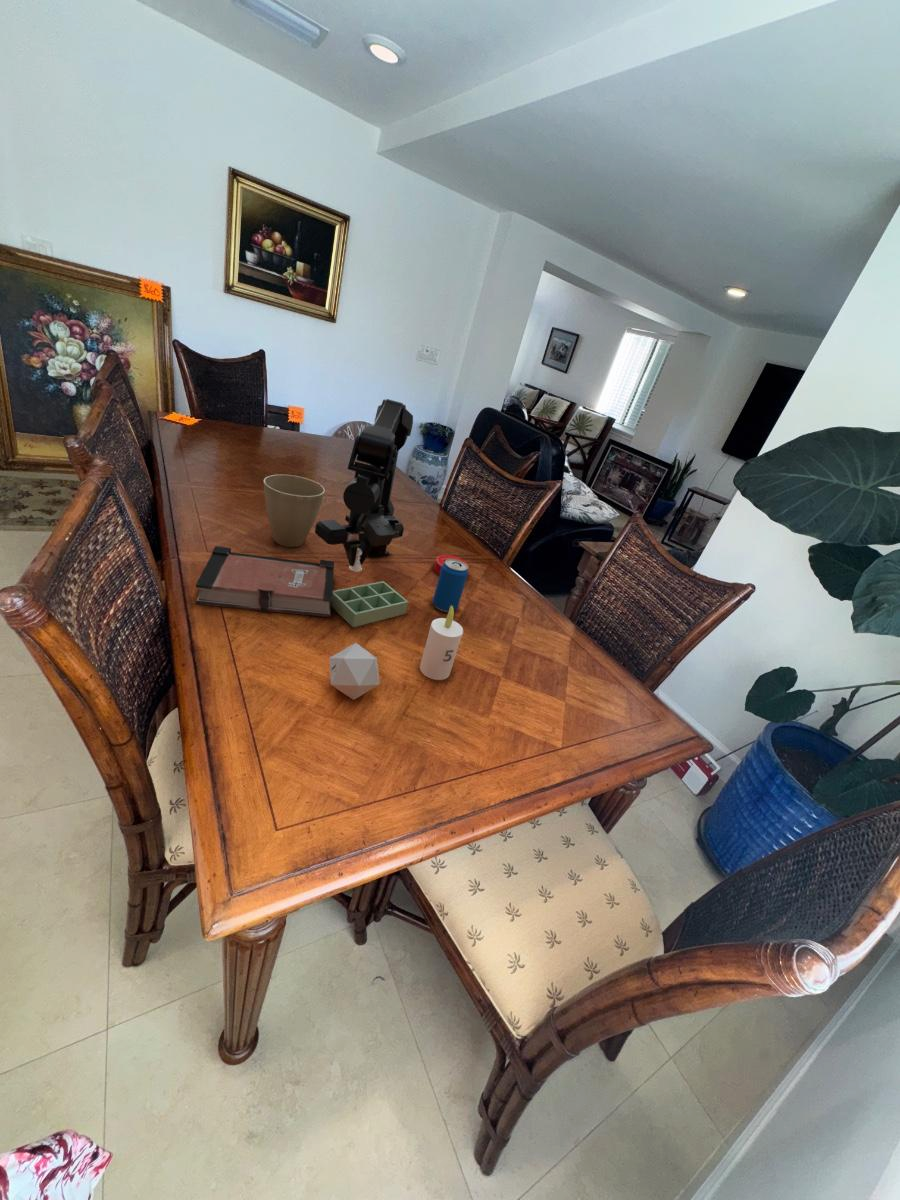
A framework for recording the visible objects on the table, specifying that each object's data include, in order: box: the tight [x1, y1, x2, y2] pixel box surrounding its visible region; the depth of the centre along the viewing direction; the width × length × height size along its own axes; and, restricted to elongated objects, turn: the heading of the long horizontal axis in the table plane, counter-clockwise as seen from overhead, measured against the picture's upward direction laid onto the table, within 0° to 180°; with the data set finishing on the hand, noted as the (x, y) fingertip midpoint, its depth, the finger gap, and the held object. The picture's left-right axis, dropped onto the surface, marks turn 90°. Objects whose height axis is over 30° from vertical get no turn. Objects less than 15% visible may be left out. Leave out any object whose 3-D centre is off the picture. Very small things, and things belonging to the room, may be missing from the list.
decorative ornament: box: [433, 554, 470, 576], centre depth 138 cm, size 10×10×3 cm
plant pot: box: [263, 473, 326, 548], centre depth 126 cm, size 15×15×16 cm
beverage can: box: [432, 559, 469, 613], centre depth 117 cm, size 6×6×12 cm
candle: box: [419, 605, 464, 681], centre depth 94 cm, size 6×6×15 cm
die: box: [329, 642, 381, 701], centre depth 85 cm, size 8×9×10 cm
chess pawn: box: [348, 548, 363, 573], centre depth 104 cm, size 3×3×5 cm
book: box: [195, 545, 335, 618], centre depth 106 cm, size 26×18×5 cm
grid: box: [331, 580, 409, 628], centre depth 110 cm, size 10×15×3 cm
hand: (355, 564), depth 105 cm, fingers closed on chess pawn, 2 cm apart
